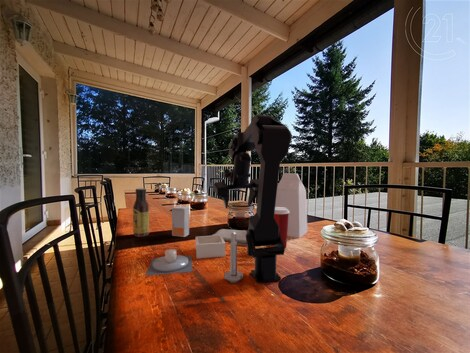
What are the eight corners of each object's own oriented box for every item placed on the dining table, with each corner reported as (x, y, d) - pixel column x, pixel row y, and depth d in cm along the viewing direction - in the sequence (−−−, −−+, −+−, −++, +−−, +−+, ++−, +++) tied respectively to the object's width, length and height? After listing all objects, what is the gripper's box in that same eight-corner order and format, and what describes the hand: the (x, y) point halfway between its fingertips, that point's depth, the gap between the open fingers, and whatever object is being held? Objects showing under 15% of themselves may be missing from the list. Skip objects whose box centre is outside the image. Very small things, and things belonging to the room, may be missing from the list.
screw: (243, 288, 59) (223, 288, 59) (243, 278, 64) (224, 278, 64) (243, 234, 59) (223, 234, 59) (243, 229, 64) (224, 229, 64)
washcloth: (252, 247, 90) (252, 239, 90) (207, 243, 95) (207, 235, 95) (259, 238, 101) (259, 231, 101) (218, 234, 107) (218, 227, 107)
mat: (192, 274, 67) (192, 271, 67) (145, 278, 64) (145, 275, 64) (191, 258, 78) (191, 255, 78) (152, 261, 76) (152, 258, 76)
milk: (307, 231, 110) (308, 173, 109) (299, 238, 100) (300, 174, 99) (282, 228, 116) (282, 172, 115) (272, 233, 107) (272, 173, 105)
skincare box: (171, 236, 103) (171, 207, 102) (176, 233, 107) (176, 206, 107) (184, 237, 101) (184, 208, 101) (189, 234, 105) (189, 206, 105)
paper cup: (288, 243, 93) (288, 206, 92) (290, 250, 85) (290, 210, 84) (267, 243, 93) (267, 206, 93) (267, 250, 86) (267, 210, 85)
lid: (188, 270, 67) (188, 256, 67) (150, 273, 65) (150, 258, 65) (188, 257, 77) (188, 244, 77) (154, 259, 75) (154, 246, 75)
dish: (225, 258, 78) (225, 243, 78) (196, 260, 76) (196, 244, 76) (221, 249, 87) (221, 235, 87) (195, 250, 85) (195, 236, 85)
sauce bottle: (133, 234, 106) (132, 188, 105) (148, 232, 108) (147, 187, 107) (133, 238, 100) (132, 189, 99) (150, 236, 102) (149, 188, 101)
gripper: (255, 159, 98) (251, 194, 104) (210, 162, 91) (208, 199, 98) (268, 170, 89) (263, 208, 95) (219, 174, 82) (216, 214, 88)
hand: (237, 206), depth 94 cm, fingers open, 9 cm apart
